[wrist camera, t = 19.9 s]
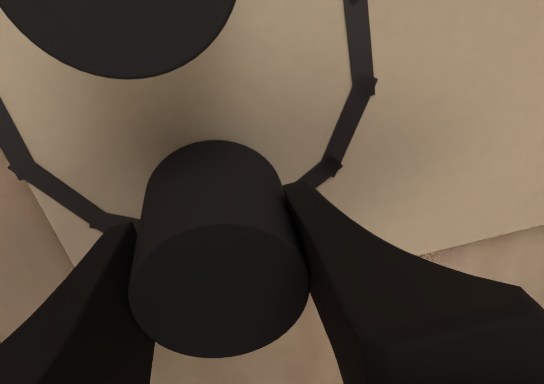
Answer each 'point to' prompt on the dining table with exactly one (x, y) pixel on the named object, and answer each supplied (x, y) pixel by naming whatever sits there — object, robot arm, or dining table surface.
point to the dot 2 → (216, 253)
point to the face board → (305, 117)
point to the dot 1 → (121, 32)
